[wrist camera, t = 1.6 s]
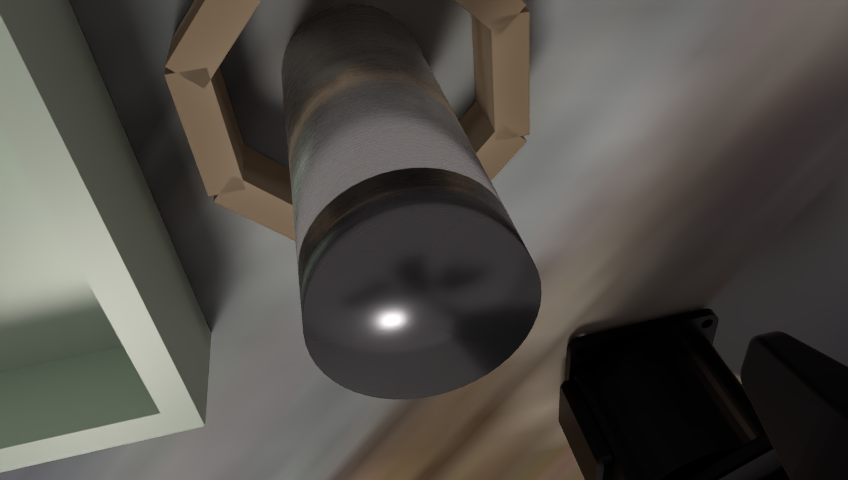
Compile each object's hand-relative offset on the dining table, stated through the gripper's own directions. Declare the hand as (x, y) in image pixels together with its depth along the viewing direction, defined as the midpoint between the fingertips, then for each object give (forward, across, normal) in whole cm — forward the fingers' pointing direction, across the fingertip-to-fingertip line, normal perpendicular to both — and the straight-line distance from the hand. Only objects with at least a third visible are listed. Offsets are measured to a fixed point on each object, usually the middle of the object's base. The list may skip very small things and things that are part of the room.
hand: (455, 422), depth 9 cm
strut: (+12, 0, 0) cm, 12 cm away
